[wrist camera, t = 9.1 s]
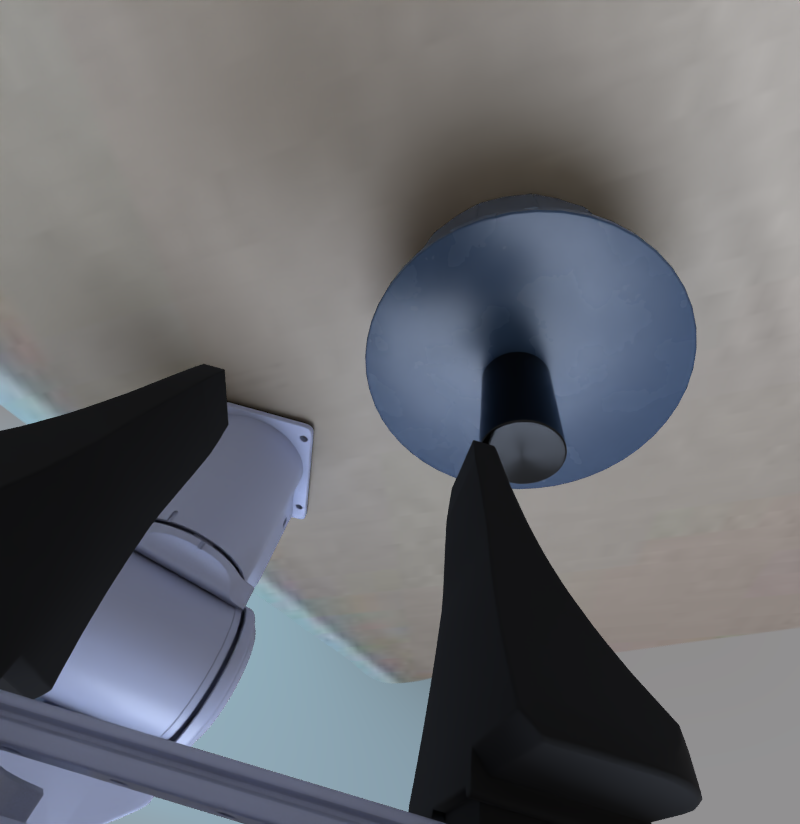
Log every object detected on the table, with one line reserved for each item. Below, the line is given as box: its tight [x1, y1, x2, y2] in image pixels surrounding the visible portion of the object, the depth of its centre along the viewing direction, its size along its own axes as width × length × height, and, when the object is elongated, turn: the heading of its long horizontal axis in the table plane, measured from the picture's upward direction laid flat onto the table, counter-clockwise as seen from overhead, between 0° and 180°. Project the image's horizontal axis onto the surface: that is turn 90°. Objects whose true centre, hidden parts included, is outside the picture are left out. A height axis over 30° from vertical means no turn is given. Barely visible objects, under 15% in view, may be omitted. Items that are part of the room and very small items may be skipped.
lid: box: [365, 207, 696, 489], centre depth 13 cm, size 11×11×5 cm
